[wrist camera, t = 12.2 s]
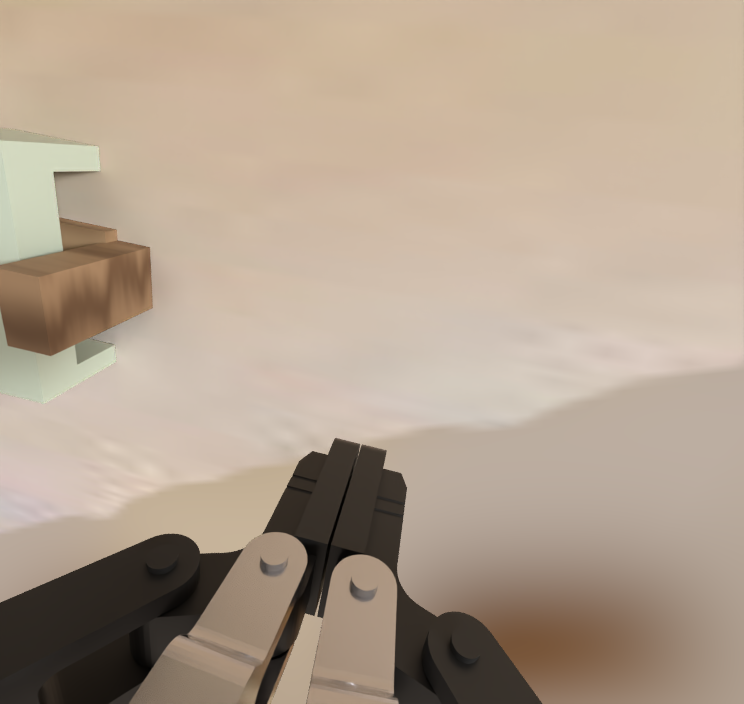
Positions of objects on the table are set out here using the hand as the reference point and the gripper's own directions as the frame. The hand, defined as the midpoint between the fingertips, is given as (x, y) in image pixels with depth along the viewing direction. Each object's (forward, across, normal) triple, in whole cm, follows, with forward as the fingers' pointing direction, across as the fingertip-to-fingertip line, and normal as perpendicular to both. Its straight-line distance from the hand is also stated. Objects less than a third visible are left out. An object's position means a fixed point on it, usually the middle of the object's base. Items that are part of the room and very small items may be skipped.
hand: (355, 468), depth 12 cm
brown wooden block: (+27, +32, +6) cm, 43 cm away
